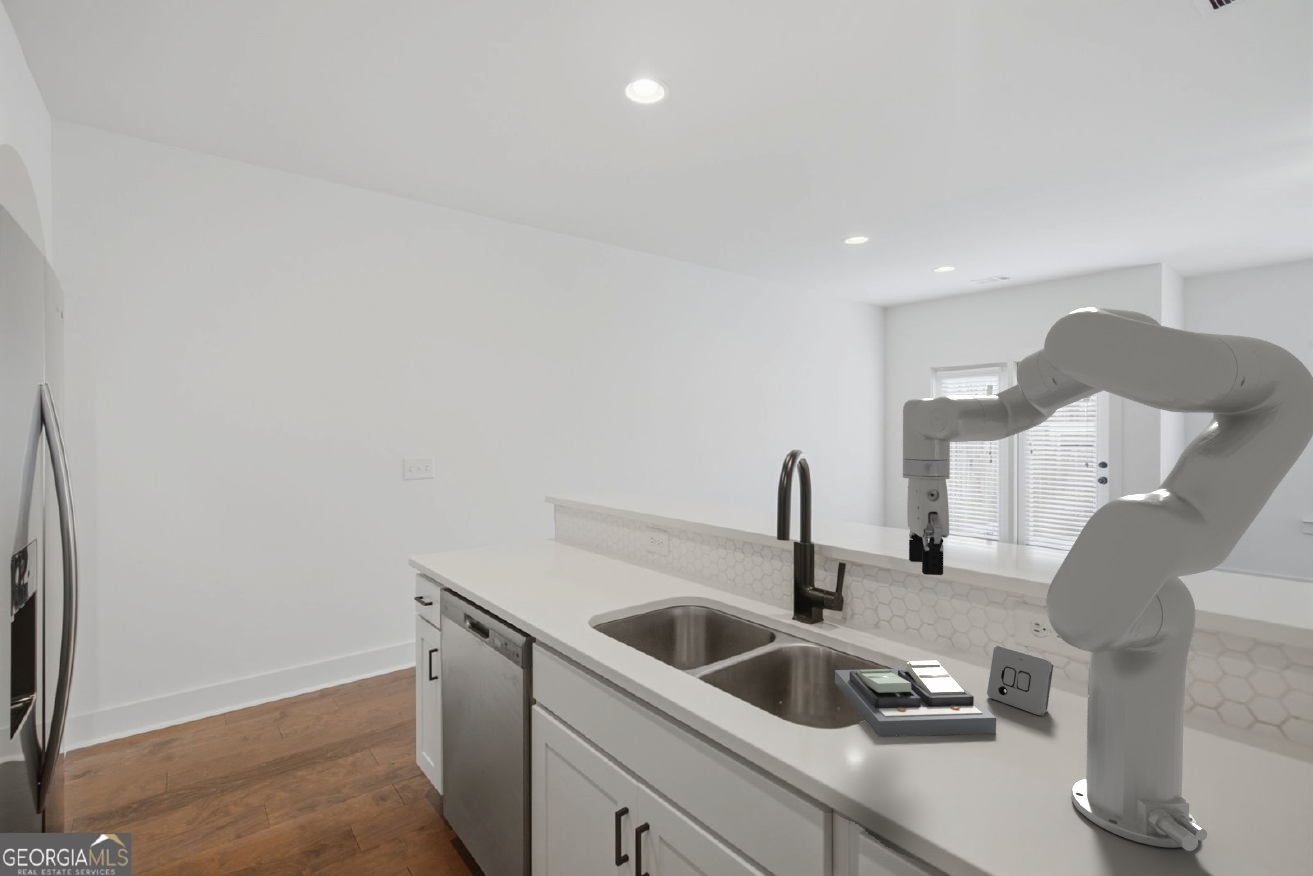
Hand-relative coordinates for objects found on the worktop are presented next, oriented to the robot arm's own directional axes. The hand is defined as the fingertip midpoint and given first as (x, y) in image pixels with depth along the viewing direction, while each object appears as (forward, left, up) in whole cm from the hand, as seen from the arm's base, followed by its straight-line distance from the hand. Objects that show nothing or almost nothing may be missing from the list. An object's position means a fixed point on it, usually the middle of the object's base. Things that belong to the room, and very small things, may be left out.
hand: (925, 567), depth 109 cm
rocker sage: (-1, +8, -19) cm, 21 cm away
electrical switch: (-1, -17, -24) cm, 29 cm away
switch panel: (-1, +3, -24) cm, 24 cm away
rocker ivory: (-1, -1, -19) cm, 19 cm away
